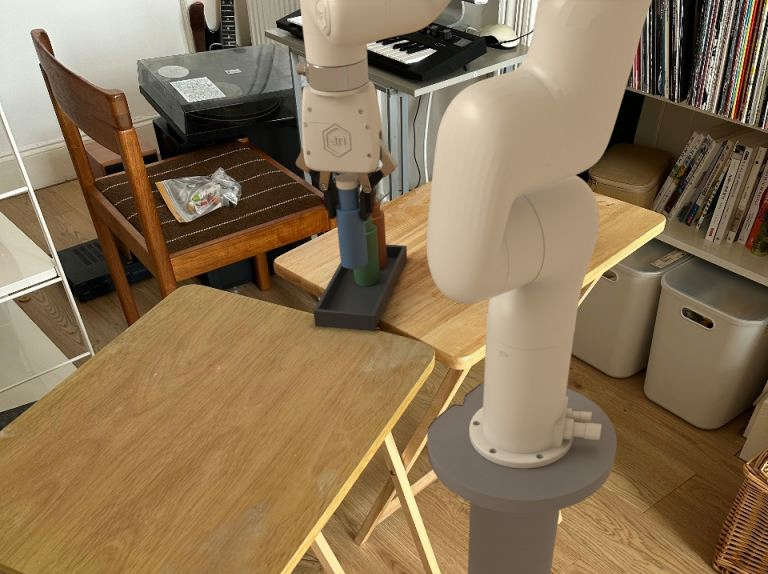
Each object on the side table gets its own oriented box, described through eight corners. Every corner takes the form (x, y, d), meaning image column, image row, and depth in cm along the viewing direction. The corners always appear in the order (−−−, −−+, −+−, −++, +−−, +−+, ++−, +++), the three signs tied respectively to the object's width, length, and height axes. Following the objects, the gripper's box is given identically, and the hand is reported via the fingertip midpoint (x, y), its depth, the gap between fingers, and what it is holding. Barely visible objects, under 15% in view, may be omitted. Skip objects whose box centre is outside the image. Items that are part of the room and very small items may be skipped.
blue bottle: (370, 256, 117) (365, 172, 109) (364, 270, 115) (357, 184, 106) (345, 254, 118) (337, 170, 109) (337, 268, 116) (328, 183, 107)
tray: (407, 259, 129) (406, 245, 127) (375, 330, 115) (374, 315, 113) (353, 256, 131) (351, 242, 129) (315, 325, 117) (313, 310, 115)
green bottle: (382, 274, 125) (377, 197, 116) (376, 287, 123) (371, 209, 114) (358, 272, 126) (351, 195, 117) (351, 285, 123) (344, 207, 114)
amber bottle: (389, 259, 128) (385, 183, 120) (383, 272, 126) (379, 194, 117) (365, 258, 129) (360, 182, 120) (359, 270, 127) (353, 193, 118)
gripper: (264, 82, 98) (285, 224, 111) (396, 86, 94) (402, 232, 107) (284, 62, 103) (302, 201, 116) (410, 65, 99) (414, 207, 112)
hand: (350, 214), depth 111 cm, fingers closed on blue bottle, 4 cm apart
